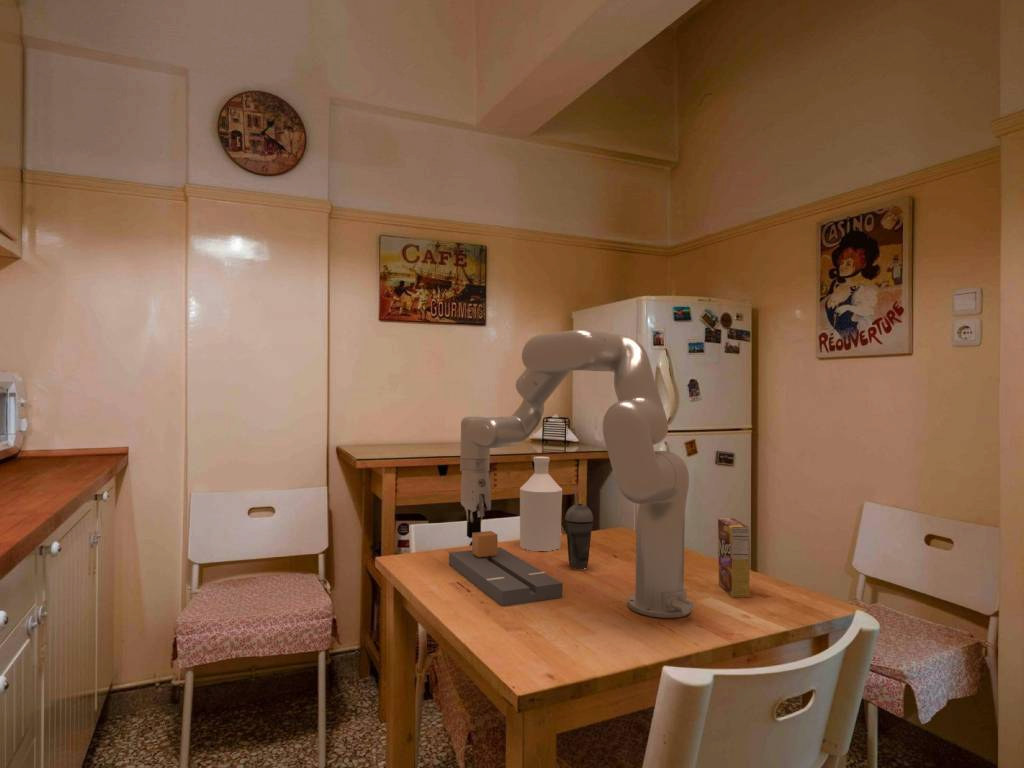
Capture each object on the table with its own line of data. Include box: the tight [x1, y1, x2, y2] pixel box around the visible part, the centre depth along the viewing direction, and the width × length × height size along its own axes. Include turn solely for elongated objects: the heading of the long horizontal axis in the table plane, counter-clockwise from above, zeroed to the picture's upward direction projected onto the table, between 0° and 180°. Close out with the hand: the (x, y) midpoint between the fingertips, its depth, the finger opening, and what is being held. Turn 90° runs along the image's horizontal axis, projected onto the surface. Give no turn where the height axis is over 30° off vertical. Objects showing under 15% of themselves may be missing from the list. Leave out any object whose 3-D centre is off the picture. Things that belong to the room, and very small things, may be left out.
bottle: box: [519, 456, 563, 552], centre depth 171 cm, size 12×12×25 cm
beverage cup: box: [564, 485, 595, 570], centre depth 152 cm, size 7×7×20 cm
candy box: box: [717, 517, 751, 599], centre depth 135 cm, size 9×4×15 cm, turn 0°
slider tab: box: [471, 530, 498, 561], centre depth 150 cm, size 4×5×7 cm
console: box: [448, 546, 564, 607], centre depth 140 cm, size 32×14×3 cm, turn 25°
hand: (473, 536), depth 156 cm, fingers closed
